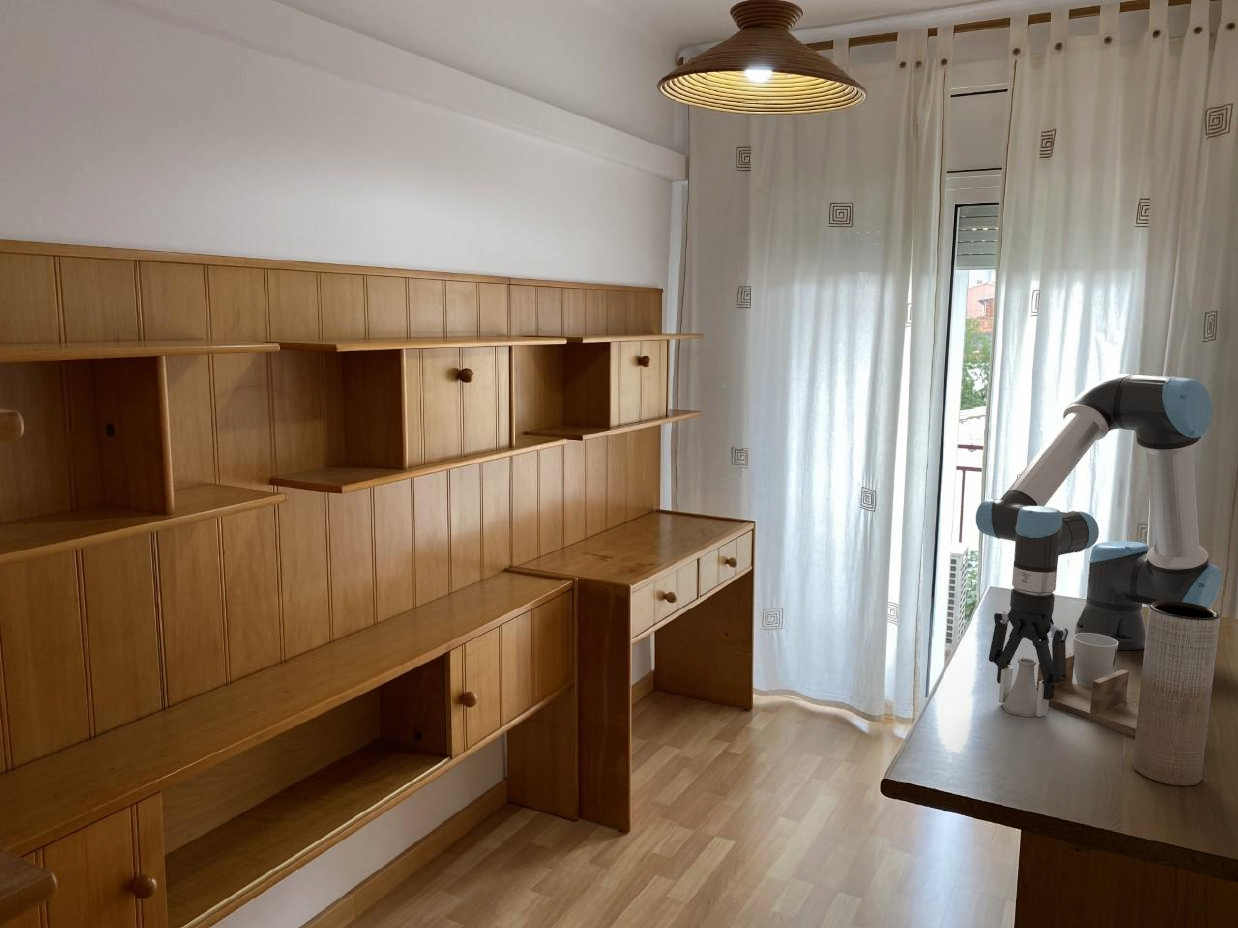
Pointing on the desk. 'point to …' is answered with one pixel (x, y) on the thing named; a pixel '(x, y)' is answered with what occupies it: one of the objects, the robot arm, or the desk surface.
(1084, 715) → the rack
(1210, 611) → the vase
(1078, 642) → the cup
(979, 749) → the desk surface
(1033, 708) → the flask
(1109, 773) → the desk surface
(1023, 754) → the desk surface
